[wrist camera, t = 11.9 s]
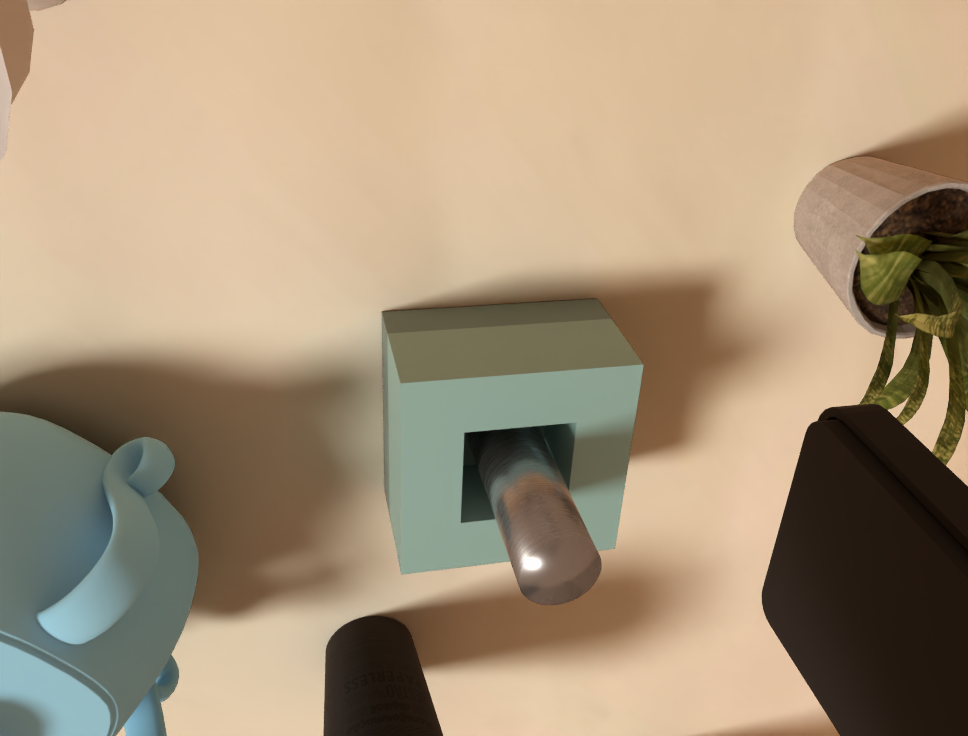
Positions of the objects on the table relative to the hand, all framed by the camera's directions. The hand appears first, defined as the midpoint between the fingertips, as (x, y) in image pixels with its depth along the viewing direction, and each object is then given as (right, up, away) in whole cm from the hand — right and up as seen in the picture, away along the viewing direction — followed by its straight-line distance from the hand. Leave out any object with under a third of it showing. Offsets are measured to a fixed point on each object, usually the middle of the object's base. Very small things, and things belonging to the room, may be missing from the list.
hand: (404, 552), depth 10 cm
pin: (+1, -1, +32) cm, 32 cm away
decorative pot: (-21, -5, +32) cm, 39 cm away
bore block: (+1, +1, +34) cm, 34 cm away
